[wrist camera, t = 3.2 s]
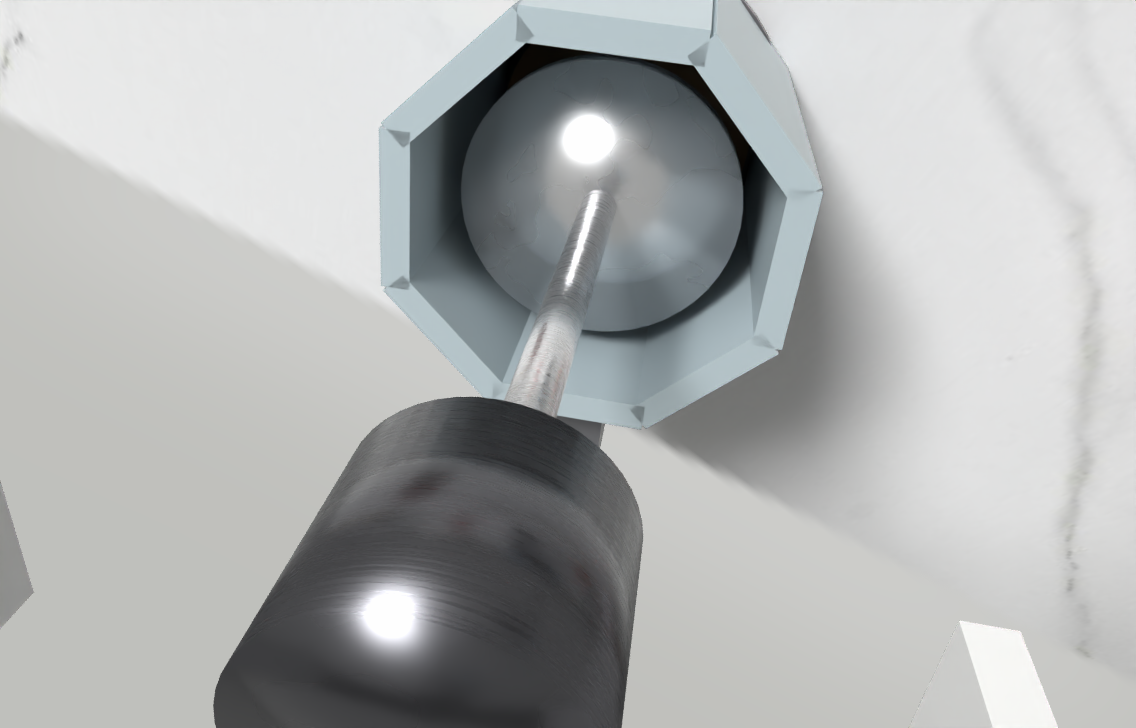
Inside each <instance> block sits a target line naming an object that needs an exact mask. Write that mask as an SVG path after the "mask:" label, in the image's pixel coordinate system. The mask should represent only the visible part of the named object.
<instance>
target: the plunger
mask: <svg viewBox="0 0 1136 728" xmlns="http://www.w3.org/2000/svg"><path fill="white" fill-rule="evenodd" d="M461 204H462V210H463V216H464V221H465V225H466V228H467V231H468V235H469V238H470V240H471V242H472V245H473V247H474V249H475V251H476V253H477V255H478V257H479V258H480V260H481V262H482V263H483V265H484V267H485V268H486V270H487V271H488V272H489V273H490V275H491V276H492V277H493V279H494V280H495V281H496V282H497V283H498V284H499V285H500V286H501V287H502V288H503V289H504V290H505V291H506V292H507V293H508V294H509V295H510V296H512V297H513V298H514V299H515V300H517V301H518V302H519V303H520V304H522V305H523V306H525V307H526V308H528V309H530V310H531V311H533V312H534V313H536V314H538V315H537V317H536V320H535V323H534V325H533V328H532V330H531V333H530V335H529V338H528V340H527V343H526V345H525V348H524V351H523V353H522V356H521V358H520V361H519V363H518V366H517V368H516V371H515V373H514V376H513V379H512V381H511V384H510V386H509V389H508V391H507V394H506V396H505V399H504V400H499V399H490V398H481V397H453V398H445V399H437V400H433V401H429V402H425V403H421V404H417V405H415V406H412V407H409V408H407V409H404V410H402V411H400V412H398V413H396V414H394V415H392V416H391V417H389V418H387V419H385V420H384V421H383V422H382V423H380V424H379V425H378V426H377V427H375V428H374V429H373V430H372V431H371V432H370V433H369V434H368V435H367V436H366V438H364V440H363V441H362V442H361V443H360V445H359V446H358V448H357V449H356V451H355V453H354V454H353V456H352V458H351V459H350V461H349V463H348V464H347V466H346V467H345V469H344V471H343V472H342V474H341V476H340V477H339V479H338V481H337V482H336V484H335V486H334V487H333V489H332V491H331V492H330V494H329V496H328V497H327V499H326V501H325V502H324V504H323V506H322V507H321V509H320V511H319V512H318V514H317V516H316V517H315V519H314V521H313V522H312V524H311V525H310V527H309V529H308V531H307V532H306V534H305V536H304V537H303V539H302V540H301V542H300V544H299V545H298V547H297V549H296V551H295V552H294V554H293V555H292V557H291V559H290V560H289V562H288V564H287V565H286V567H285V569H284V570H283V572H282V574H281V575H280V577H279V579H278V580H277V582H276V584H275V585H274V587H273V588H272V590H271V592H270V593H269V595H268V597H267V598H266V600H265V602H264V603H263V605H262V607H261V608H260V610H259V612H258V614H257V615H256V617H255V618H254V620H253V622H252V624H251V625H250V627H249V628H248V630H247V632H246V633H245V635H244V637H243V638H242V640H241V642H240V643H239V645H238V647H237V648H236V650H235V651H234V653H233V655H232V656H231V658H230V660H229V661H228V663H227V665H226V666H225V668H224V670H223V671H222V673H221V675H220V678H219V681H218V684H217V686H216V690H215V697H214V705H213V706H214V719H215V725H216V728H621V727H622V718H623V710H624V701H625V692H626V683H627V674H628V666H629V657H630V648H631V640H632V631H633V623H634V613H635V605H636V596H637V588H638V579H639V570H640V561H641V553H642V542H643V530H642V520H641V515H640V512H639V507H638V504H637V502H636V499H635V497H634V495H633V492H632V489H631V488H630V486H629V485H628V483H627V481H626V479H625V478H624V476H623V474H622V473H621V472H620V470H619V469H618V468H617V467H616V465H615V464H614V463H613V461H612V460H611V459H610V458H609V457H608V456H607V455H606V454H605V453H604V452H603V451H602V450H601V449H600V448H599V447H598V446H597V445H596V444H595V443H593V442H592V441H591V440H590V439H588V438H587V437H586V436H584V435H583V434H582V433H580V432H579V431H577V430H576V429H574V428H573V427H571V426H569V425H568V424H566V423H564V422H563V421H561V420H559V419H557V418H556V417H557V413H558V410H559V407H560V403H561V400H562V396H563V393H564V389H565V386H566V382H567V379H568V375H569V372H570V369H571V365H572V362H573V358H574V355H575V351H576V348H577V344H578V341H579V338H580V334H581V331H582V329H583V330H591V331H623V330H631V329H637V328H641V327H644V326H648V325H652V324H654V323H657V322H660V321H662V320H665V319H667V318H669V317H671V316H673V315H675V314H676V313H678V312H680V311H682V310H683V309H685V308H686V307H688V306H689V305H690V304H692V303H693V302H695V301H696V300H697V299H698V298H699V297H700V296H701V295H702V294H703V293H705V292H706V291H707V290H708V289H709V288H710V286H711V285H712V284H713V283H714V281H715V280H716V279H717V278H718V277H719V275H720V274H721V272H722V270H723V269H724V267H725V266H726V264H727V262H728V261H729V258H730V256H731V254H732V252H733V250H734V247H735V245H736V242H737V238H738V235H739V231H740V228H741V221H742V214H743V182H742V175H741V168H740V162H739V159H738V155H737V152H736V148H735V145H734V143H733V141H732V139H731V136H730V134H729V132H728V130H727V128H726V126H725V125H724V123H723V121H722V120H721V118H720V116H719V115H718V113H717V112H716V111H715V110H714V108H713V107H712V106H711V105H710V104H709V102H708V101H707V100H706V99H705V98H704V97H703V96H702V95H701V94H700V93H699V92H698V91H697V90H696V89H694V88H693V87H692V86H691V85H690V84H688V83H687V82H685V81H684V80H683V79H681V78H680V77H678V76H677V75H675V74H674V73H672V72H670V71H668V70H666V69H664V68H662V67H660V66H658V65H655V64H652V63H650V62H647V61H644V60H641V59H637V58H633V57H627V56H620V55H613V54H588V55H579V56H574V57H569V58H564V59H561V60H558V61H555V62H553V63H550V64H547V65H544V66H543V67H541V68H539V69H537V70H535V71H533V72H531V73H529V74H528V75H526V76H525V77H523V78H522V79H521V80H519V81H518V82H517V83H515V84H514V85H513V86H512V87H511V88H510V89H508V90H507V91H506V92H505V93H504V94H503V95H502V96H501V97H500V98H499V99H498V101H497V102H496V103H495V104H494V105H493V107H492V108H491V109H490V110H489V112H488V113H487V114H486V116H485V117H484V118H483V119H482V121H481V123H480V125H479V126H478V128H477V130H476V132H475V133H474V135H473V138H472V140H471V143H470V145H469V148H468V150H467V153H466V158H465V162H464V166H463V171H462V181H461Z"/></svg>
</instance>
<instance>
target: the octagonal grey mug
mask: <svg viewBox="0 0 1136 728" xmlns="http://www.w3.org/2000/svg"><path fill="white" fill-rule="evenodd" d="M588 54H613V55H620V56H627V57H633V58H637V59H641V60H644V61H647V62H650V63H652V64H655V65H658V66H660V67H662V68H664V69H666V70H668V71H670V72H672V73H674V74H675V75H677V76H678V77H680V78H681V79H683V80H684V81H685V82H687V83H688V84H690V85H691V86H692V87H693V88H694V89H696V90H697V91H698V92H699V93H700V94H701V95H702V96H703V97H704V98H705V99H706V100H707V101H708V102H709V104H710V105H711V106H712V107H713V108H714V110H715V111H716V112H717V113H718V115H719V116H720V118H721V120H722V121H723V123H724V125H725V126H726V128H727V130H728V132H729V134H730V136H731V139H732V141H733V143H734V145H735V148H736V152H737V155H738V159H739V162H740V168H741V175H742V182H743V214H742V221H741V228H740V231H739V235H738V238H737V242H736V245H735V247H734V250H733V252H732V254H731V256H730V258H729V261H728V262H727V264H726V266H725V267H724V269H723V270H722V272H721V274H720V275H719V277H718V278H717V279H716V280H715V281H714V283H713V284H712V285H711V286H710V288H709V289H708V290H707V291H706V292H705V293H703V294H702V295H701V296H700V297H699V298H698V299H697V300H696V301H695V302H693V303H692V304H690V305H689V306H688V307H686V308H685V309H683V310H682V311H680V312H678V313H676V314H675V315H673V316H671V317H669V318H667V319H665V320H662V321H660V322H657V323H654V324H652V325H648V326H644V327H641V328H637V329H631V330H623V331H591V330H583V329H582V331H581V334H580V338H579V341H578V344H577V348H576V351H575V355H574V358H573V362H572V365H571V369H570V372H569V375H568V379H567V382H566V386H565V389H564V393H563V396H562V400H561V403H560V407H559V410H558V413H557V417H556V418H557V419H559V420H561V421H563V422H564V423H566V424H568V425H569V426H571V427H573V428H574V429H576V430H577V431H579V432H580V433H582V434H583V435H584V436H586V437H587V438H588V439H590V440H591V441H592V442H593V443H595V444H596V445H597V446H598V447H599V448H600V446H601V441H602V435H603V431H604V426H605V424H610V425H616V426H622V427H628V428H634V429H640V430H641V428H642V425H643V426H644V427H645V428H646V429H647V428H649V427H650V426H652V425H654V424H656V423H657V422H659V421H661V420H663V419H664V418H666V417H668V416H670V415H672V414H673V413H675V412H677V411H679V410H680V409H682V408H684V407H686V406H687V405H689V404H691V403H693V402H695V401H696V400H698V399H700V398H702V397H703V396H705V395H707V394H709V393H710V392H712V391H714V390H716V389H718V388H719V387H721V386H723V385H725V384H726V383H728V382H730V381H732V380H734V379H735V378H737V377H739V376H741V375H742V374H744V373H746V372H748V371H749V370H751V369H753V368H755V367H757V366H758V365H760V364H762V363H764V362H765V361H767V360H769V359H771V358H772V357H774V356H776V355H778V354H779V353H778V350H782V348H783V344H784V340H785V336H786V332H787V329H788V325H789V321H790V317H791V314H792V310H793V306H794V302H795V298H796V295H797V291H798V287H799V283H800V279H801V276H802V272H803V268H804V264H805V260H806V257H807V253H808V249H809V245H810V241H811V238H812V234H813V230H814V226H815V222H816V219H817V215H818V211H819V207H820V203H821V200H822V196H823V190H822V184H821V181H820V177H819V174H818V170H817V167H816V163H815V160H814V156H813V153H812V149H811V146H810V142H809V139H808V135H807V132H806V128H805V125H804V121H803V118H802V114H801V111H800V107H799V104H798V100H797V97H796V93H795V90H794V86H793V83H792V80H791V76H790V73H789V69H788V67H787V65H786V64H785V62H784V61H783V59H782V58H781V56H780V55H779V53H778V52H777V50H776V49H775V47H774V46H773V44H772V43H771V41H770V40H769V37H768V35H767V32H766V31H765V29H764V27H763V25H762V24H761V22H760V20H759V18H758V17H757V15H756V14H755V12H754V11H753V10H752V9H751V7H750V6H749V5H748V3H747V2H746V1H745V0H519V1H518V2H517V3H515V4H514V5H513V6H512V7H511V8H509V9H508V10H507V11H506V12H505V13H504V14H503V15H502V16H500V17H499V18H498V19H497V20H496V21H495V22H494V23H493V24H491V25H490V26H489V27H488V28H487V29H486V30H485V31H484V32H482V33H481V34H480V35H479V36H478V37H477V38H476V39H475V40H473V41H472V42H471V43H470V44H469V45H468V46H467V47H466V48H464V49H463V50H462V51H461V52H460V53H459V54H458V55H457V56H455V57H454V58H453V59H452V60H451V61H450V62H449V63H448V64H447V65H445V66H444V67H443V68H442V69H441V70H440V71H439V72H438V73H436V74H435V75H434V76H433V77H432V78H431V79H430V80H429V81H427V82H426V83H425V84H424V85H423V86H422V87H421V88H420V89H418V90H417V91H416V92H415V93H414V94H413V95H412V96H411V97H409V98H408V99H407V100H406V101H405V102H404V103H403V104H402V105H400V106H399V107H398V108H397V109H396V110H395V111H394V112H393V113H391V114H390V115H389V116H388V117H387V118H386V119H385V120H384V121H383V122H381V124H382V126H381V127H379V174H380V245H381V286H385V289H384V290H383V291H384V292H385V293H386V294H387V295H388V296H389V297H390V298H391V299H392V301H393V302H394V303H395V304H396V305H397V306H398V307H399V308H400V309H401V310H402V311H403V312H404V313H405V314H406V315H407V317H408V318H409V319H410V320H411V321H412V322H413V323H414V324H415V325H416V326H417V327H418V328H419V329H420V330H421V332H422V333H423V334H424V335H425V336H426V337H427V338H428V339H429V340H430V341H431V342H432V343H433V344H434V345H435V346H436V348H437V349H438V350H439V351H440V352H441V353H442V354H443V355H444V356H445V357H446V358H447V359H448V360H449V361H450V362H451V364H452V365H453V366H454V367H455V368H456V369H457V370H458V371H459V372H460V373H461V374H462V375H463V376H464V377H465V379H466V380H467V381H468V382H469V383H470V384H471V385H472V386H473V387H474V388H475V389H476V390H477V391H478V392H479V393H480V394H481V396H482V397H483V398H490V399H499V400H504V399H505V396H506V394H507V391H508V389H509V386H510V384H511V381H512V379H513V376H514V373H515V371H516V368H517V366H518V363H519V361H520V358H521V356H522V353H523V351H524V348H525V345H526V343H527V340H528V338H529V335H530V333H531V330H532V328H533V325H534V323H535V320H536V317H537V315H538V314H536V313H534V312H533V311H531V310H530V309H528V308H526V307H525V306H523V305H522V304H520V303H519V302H518V301H517V300H515V299H514V298H513V297H512V296H510V295H509V294H508V293H507V292H506V291H505V290H504V289H503V288H502V287H501V286H500V285H499V284H498V283H497V282H496V281H495V280H494V279H493V277H492V276H491V275H490V273H489V272H488V271H487V270H486V268H485V267H484V265H483V263H482V262H481V260H480V258H479V257H478V255H477V253H476V251H475V249H474V247H473V245H472V242H471V240H470V238H469V235H468V231H467V228H466V225H465V221H464V216H463V210H462V204H461V181H462V171H463V166H464V162H465V158H466V153H467V150H468V148H469V145H470V143H471V140H472V138H473V135H474V133H475V132H476V130H477V128H478V126H479V125H480V123H481V121H482V119H483V118H484V117H485V116H486V114H487V113H488V112H489V110H490V109H491V108H492V107H493V105H494V104H495V103H496V102H497V101H498V99H499V98H500V97H501V96H502V95H503V94H504V93H505V92H506V91H507V90H508V89H510V88H511V87H512V86H513V85H514V84H515V83H517V82H518V81H519V80H521V79H522V78H523V77H525V76H526V75H528V74H529V73H531V72H533V71H535V70H537V69H539V68H541V67H543V66H544V65H547V64H550V63H553V62H555V61H558V60H561V59H564V58H569V57H574V56H579V55H588Z"/></svg>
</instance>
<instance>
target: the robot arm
mask: <svg viewBox="0 0 1136 728" xmlns="http://www.w3.org/2000/svg"><path fill="white" fill-rule="evenodd" d="M32 594H33V588H32V585H31V582H30V578H29V575H28V572H27V568H26V565H25V562H24V558H23V555H22V552H21V549H20V545H19V542H18V538H17V535H16V532H15V528H14V525H13V522H12V519H11V515H10V512H9V509H8V505H7V502H6V499H5V495H4V492H3V489H2V485H1V482H0V628H1V627H2V626H3V625H4V624H5V623H6V622H7V621H8V620H9V619H10V618H11V616H12V615H13V614H14V613H15V612H16V611H17V610H18V609H19V608H20V607H21V606H22V604H23V603H24V602H25V601H26V600H27V599H28V598H29V597H30V596H31V595H32ZM909 728H1058V726H1057V723H1056V721H1055V718H1054V716H1053V713H1052V711H1051V708H1050V705H1049V703H1048V700H1047V698H1046V695H1045V693H1044V690H1043V687H1042V685H1041V683H1040V680H1039V677H1038V675H1037V672H1036V669H1035V667H1034V664H1033V662H1032V659H1031V657H1030V654H1029V652H1028V649H1027V646H1026V644H1025V641H1024V639H1023V636H1022V633H1021V631H1016V630H1010V629H1005V628H999V627H993V626H988V625H982V624H976V623H971V622H965V621H959V622H958V624H957V626H956V628H955V630H954V632H953V634H952V636H951V639H950V641H949V643H948V645H947V647H946V649H945V651H944V654H943V656H942V658H941V660H940V662H939V664H938V666H937V668H936V671H935V673H934V675H933V677H932V679H931V681H930V683H929V686H928V688H927V690H926V692H925V694H924V696H923V698H922V700H921V702H920V704H919V707H918V709H917V711H916V713H915V715H914V717H913V720H912V721H911V724H910V726H909Z"/></svg>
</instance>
